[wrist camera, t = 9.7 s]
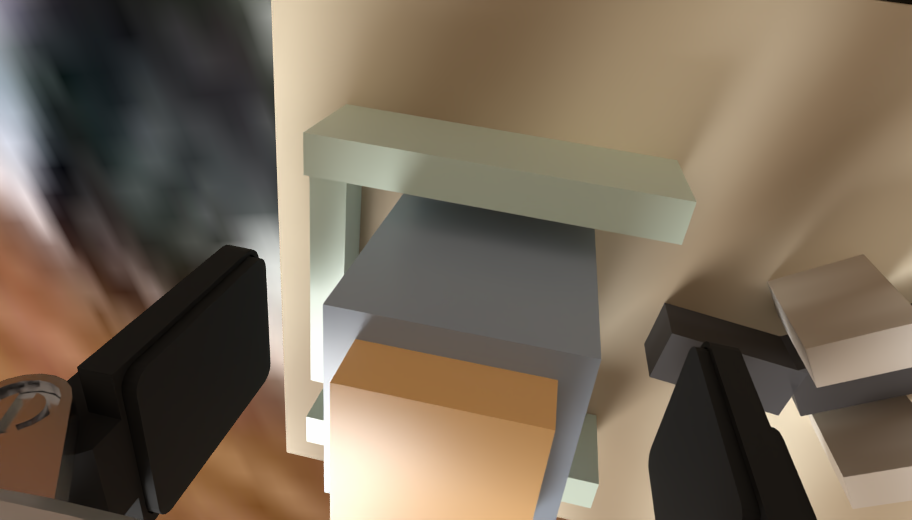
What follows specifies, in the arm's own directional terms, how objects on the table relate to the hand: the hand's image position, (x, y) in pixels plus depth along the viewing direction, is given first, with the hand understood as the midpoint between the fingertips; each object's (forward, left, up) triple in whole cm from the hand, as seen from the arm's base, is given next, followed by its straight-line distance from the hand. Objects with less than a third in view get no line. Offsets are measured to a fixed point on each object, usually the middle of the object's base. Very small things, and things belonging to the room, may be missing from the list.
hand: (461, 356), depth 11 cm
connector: (0, 0, -3) cm, 3 cm away
